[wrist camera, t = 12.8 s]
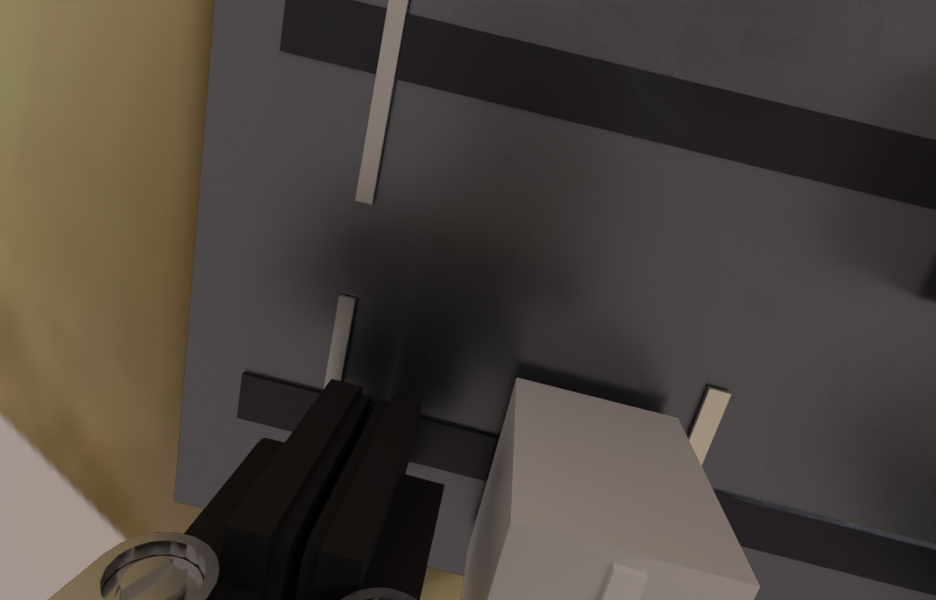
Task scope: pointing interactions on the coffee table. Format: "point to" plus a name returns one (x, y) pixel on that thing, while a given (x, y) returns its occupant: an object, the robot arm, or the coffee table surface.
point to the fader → (599, 508)
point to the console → (588, 250)
